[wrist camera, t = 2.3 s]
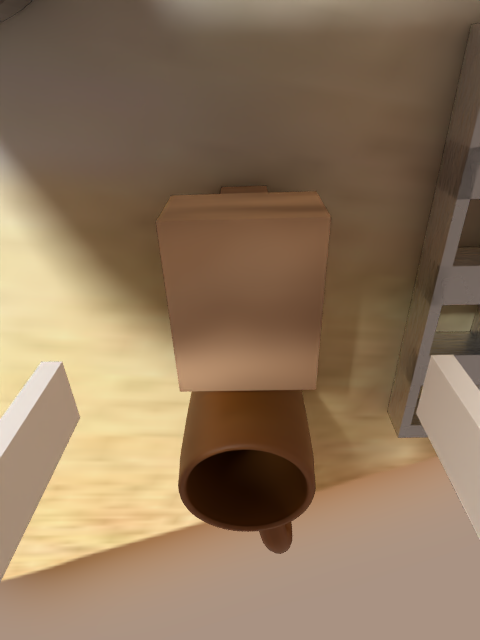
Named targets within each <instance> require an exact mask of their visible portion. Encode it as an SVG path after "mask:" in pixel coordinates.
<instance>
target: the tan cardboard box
mask: <svg viewBox="0 0 480 640" xmlns="http://www.w3.org/2000/svg"><path fill="white" fill-rule="evenodd" d="M330 222H331V216H330V215H329V213H328V211H327V209H326V207H325V206H324V204H323V202H322V200H321V199H320V197H319V195H318V193H317V192H316V191H305V192H270V193H268V190H267V186H240V187H221V191H220V194H199V195H171V197H170V198H169V200H168V202H167V203H166V205H165V207H164V209H163V210H162V212H161V214H160V215H159V217H158V219H157V220H156V227H157V234H158V241H159V248H160V255H161V262H162V269H163V276H164V283H165V290H166V297H167V304H168V311H169V318H170V325H171V332H172V339H173V346H174V353H175V360H176V367H177V374H178V381H179V388H180V392H183V391H251V390H316V382H317V371H318V359H319V348H320V336H321V325H322V314H323V302H324V291H325V279H326V268H327V257H328V245H329V234H330Z"/></svg>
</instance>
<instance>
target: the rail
mask: <svg viewBox="0 0 480 640" xmlns="http://www.w3.org/2000/svg"><path fill="white" fill-rule="evenodd" d="M470 199H480V23H476V24H471V27H470V32H469V37H468V41H467V46H466V50H465V55H464V60H463V64H462V69H461V73H460V78H459V83H458V87H457V92H456V97H455V101H454V106H453V110H452V115H451V120H450V124H449V129H448V133H447V138H446V143H445V147H444V152H443V156H442V161H441V166H440V170H439V175H438V180H437V184H436V189H435V193H434V198H433V203H432V207H431V212H430V216H429V221H428V226H427V230H426V235H425V240H424V244H423V249H422V253H421V258H420V263H419V267H418V272H417V276H416V281H415V286H414V290H413V295H412V299H411V304H410V309H409V313H408V318H407V323H406V327H405V332H404V336H403V341H402V346H401V350H400V355H399V359H398V364H397V369H396V373H395V378H394V382H393V387H392V392H391V396H390V401H389V406H388V410H387V412H388V414H389V417H390V419H391V422H392V424H393V427H394V429H395V432H396V434H397V436H398V438H411V437H428V436H427V434H426V432H425V430H424V428H423V426H422V424H421V422H420V420H419V418H418V416H417V414H416V412H417V408H418V404H419V400H420V399H418V395H419V391H420V387H421V386H423V385H424V381H425V377H426V373H427V369H428V365H429V362H430V358H431V355H454V357H455V358H456V359H457V361H458V362H459V363H460V365H461V366H462V367H463V369H464V370H465V371H466V373H467V374H468V376H469V377H470V378H471V380H472V381H473V382H474V384H475V385H476V386H477V388H478V389H479V390H480V247H465V248H458V244H459V240H460V236H461V232H462V229H463V225H464V221H465V217H466V213H467V210H468V206H469V202H470ZM474 304H479V305H478V308H477V311H476V315H475V318H474V321H473V324H472V327H471V330H470V332H435V331H436V327H437V323H438V319H439V316H440V312H441V308H442V305H474Z"/></svg>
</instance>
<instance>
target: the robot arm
mask: <svg viewBox="0 0 480 640" xmlns="http://www.w3.org/2000/svg"><path fill="white" fill-rule="evenodd" d="M31 1H32V0H0V22H2V21H4V20H6V19H8V18H10V17H11V16H13V15H15V14H16V13H17V12H19V11H20V10H22V9H23V8H24V7H25V6H27V5H28V4H29V3H30V2H31ZM416 414H417V416H418V418H419V420H420V422H421V424H422V426H423V428H424V430H425V432H426V434H427V436H428V438H429V440H430V442H431V444H432V446H433V448H434V450H435V452H436V454H437V456H438V458H439V460H440V462H441V464H442V466H443V468H444V470H445V472H446V474H447V476H448V477H449V480H450V482H451V484H452V486H453V488H454V490H455V492H456V494H457V496H458V498H459V500H460V502H461V504H462V506H463V508H464V510H465V512H466V514H467V516H468V518H469V520H470V522H471V524H472V526H473V528H474V530H475V532H476V534H477V536H478V538H479V540H480V390H479V389H478V388H477V386H476V385H475V384H474V382H473V381H472V380H471V378H470V377H469V376H468V374H467V373H466V371H465V370H464V369H463V367H462V366H461V365H460V363H459V362H458V361H457V359H456V358H455V357H454V355H431V358H430V362H429V365H428V369H427V373H426V377H425V381H424V385H423V388H422V392H421V396H420V400H419V404H418V408H417V412H416ZM79 419H80V416H79V413H78V409H77V406H76V403H75V400H74V397H73V394H72V391H71V387H70V384H69V381H68V378H67V375H66V372H65V369H64V366H63V362H41V363H40V364H39V366H38V367H37V369H36V370H35V371H34V373H33V374H32V376H31V377H30V378H29V380H28V381H27V383H26V384H25V385H24V387H23V388H22V390H21V391H20V392H19V394H18V395H17V397H16V398H15V399H14V401H13V402H12V404H11V405H10V406H9V408H8V409H7V411H6V412H5V413H4V415H3V416H2V418H1V419H0V582H1V580H2V578H3V576H4V574H5V572H6V569H7V567H8V565H9V563H10V561H11V559H12V557H13V555H14V553H15V551H16V549H17V547H18V545H19V543H20V541H21V538H22V536H23V534H24V532H25V530H26V528H27V526H28V524H29V522H30V520H31V518H32V516H33V514H34V512H35V510H36V508H37V505H38V503H39V501H40V499H41V497H42V495H43V493H44V491H45V489H46V487H47V485H48V483H49V481H50V479H51V477H52V475H53V472H54V470H55V468H56V466H57V464H58V462H59V460H60V458H61V456H62V454H63V452H64V450H65V448H66V446H67V444H68V442H69V439H70V437H71V435H72V433H73V431H74V429H75V427H76V425H77V423H78V421H79Z"/></svg>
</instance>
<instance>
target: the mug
mask: <svg viewBox="0 0 480 640" xmlns="http://www.w3.org/2000/svg"><path fill="white" fill-rule="evenodd" d="M178 488H179V493H180V497H181V499H182V501H183V503H184V505H185V506H186V507H187V509H188V510H189V511H190V512H191V513H192V514H193V515H195V516H196V517H197V518H199V519H201V520H202V521H204V522H206V523H208V524H211V525H213V526H216V527H219V528H223V529H228V530H233V531H259V532H260V535H261V538H262V541H263V543H264V544H265V546H266V547H267V548H268V549H269V550H270V551H273V552H274V553H279V554H281V553H284V552H286V551H287V550H288V549H289V548H290V545H291V542H292V524H291V521H293V520H294V519H296V518H297V517H299V516H300V515H301V514H302V513H303V512H304V511H305V510H306V509H307V508H308V507H309V505H310V503H311V502H312V499H313V497H314V494H315V474H314V458H313V451H312V445H311V439H310V434H309V428H308V422H307V416H306V411H305V406H304V401H303V395H302V390H251V391H192V393H191V398H190V403H189V408H188V414H187V419H186V425H185V431H184V437H183V443H182V449H181V456H180V471H179V482H178Z"/></svg>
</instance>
